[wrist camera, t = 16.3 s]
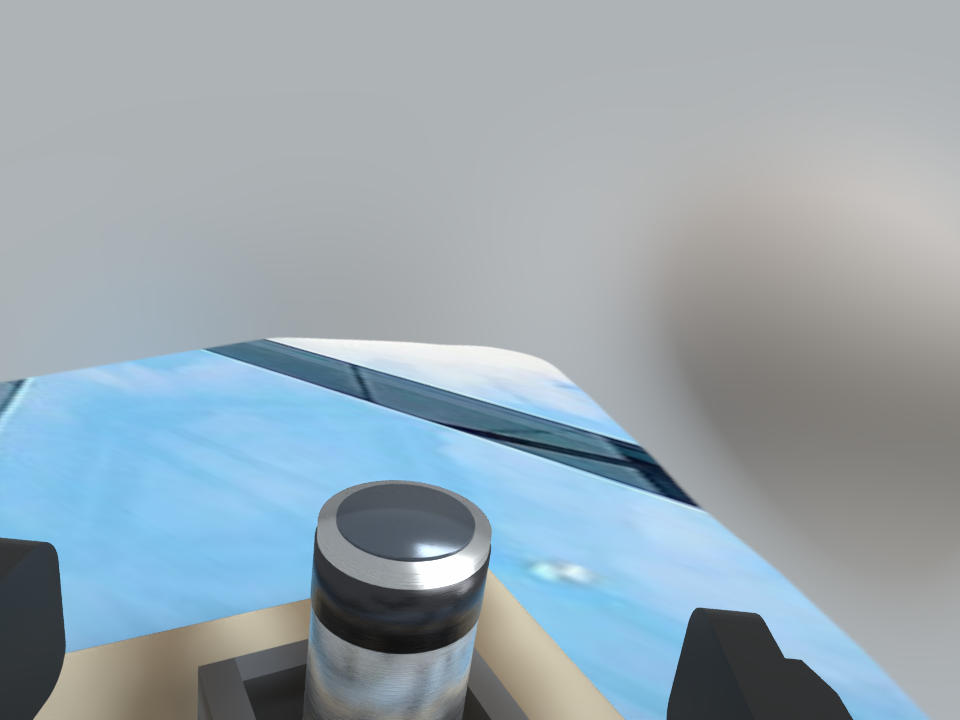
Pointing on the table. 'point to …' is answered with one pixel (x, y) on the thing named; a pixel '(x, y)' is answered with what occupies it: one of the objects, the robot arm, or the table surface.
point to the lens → (394, 603)
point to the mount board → (282, 671)
